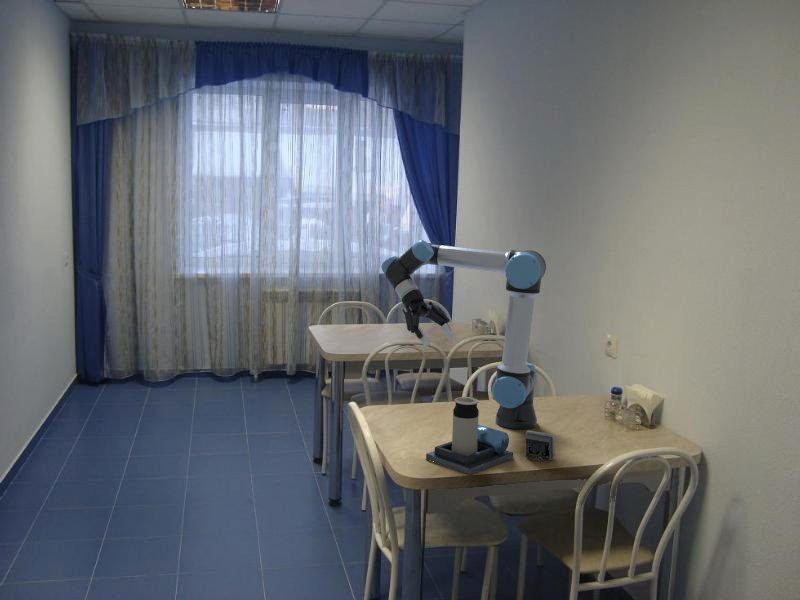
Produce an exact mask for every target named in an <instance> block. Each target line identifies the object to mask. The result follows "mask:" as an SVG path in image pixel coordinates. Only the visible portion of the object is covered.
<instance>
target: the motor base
mask: <svg viewBox="0 0 800 600" xmlns="http://www.w3.org/2000/svg"><path fill="white" fill-rule="evenodd" d="M509 443H510V436H509V434H508V432H505V431H502V430H499V429H496V428H492V427H488V426H485V425H482V424H479V423H478V439H477V453H474V454H471V455H469V456H465V455H462V454H459V453H456V452H453V451H452V440H451V441H449V442H446V443H442V444H440V445H436V446H434V450H432V451H430V452H427V453H426V454H425V460H426V459H428V460H427V461H429V460H431V461H434V462H436V463H435V464H437V463H439V464H438V465H440V464H441V465H440V466H443V467H446V468H449V469H451V470H454V471H458V472H461V473H463V474H465V475H468V476H472V475H474V474H477V473H479V472H482V471H484V470H487V469H490V468H493V467H495V466H498V465H500V464H503V463H505V462H508V461H510V460H513V459H514V452H513V451H509V450H507V449H508V447H509ZM431 461H430V462H431ZM434 462H433V463H434Z"/></svg>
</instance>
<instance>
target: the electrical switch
mask: <svg viewBox="0 0 800 600" xmlns="http://www.w3.org/2000/svg"><path fill="white" fill-rule="evenodd" d="M555 439H556V438H555V435H554V433H553V434H552V433H547V432H540V431H534V430H529V429H527V430H526V432H525V455H526V456H525V457H526V459H528V458H530V459H529V460H533V459H535V460H534V461H539V460H540V462H546V463H550V462H551V461H552V460H551V459H553V460H555V457H556V453H555V452H556V451H555V449H556V447H555V445H556V443H555ZM540 457H541V458H540Z"/></svg>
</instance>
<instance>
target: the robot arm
mask: <svg viewBox="0 0 800 600" xmlns="http://www.w3.org/2000/svg"><path fill="white" fill-rule="evenodd" d="M546 263H547V262H546V259H545V258H544V257H543V255H542V254H540V253H539V252H538V251H535V250H530V249H529V250H514V249H511V250H509V251H497V250H490V249H480V248H469V247H460V246H454V245H453V246H451V245H441V244H435V243H432V242H427V241H426V240H424V239H419V240H417V242H415V243H414V244H412V246H411V247H409V248H408V249H407V250H406V251H405V252H404V253H403V254H401V255H400V256H399V257H398V256H396V255H392V256H390V257H388V258H386V259H385V260H384V261H383V262H382V264H381V271H382V272H383V275H384V277H385V278H386V279H387V281H388V282H389V284H390V285H391V286H392V288H393V290H394V291H395V293H396V294H397V296H398V298H399V299H400V300H401V303H402V304H403V306H404V307H403V308H402V312H403V314H404V319H405V323H406V328H407V331H408V332H410V333H411V334H415V336H416V337H417V339H418V340H419V341H420V342H421V344H422V346H423V347H424V348H427V347H428V346H429V345H430V344H431V341H430V339H429V338H428V336H427V335H426V333H425V332H424V330H423V329H422V327H420V318H421V317H425V318H427V319H430V320H431V321H433V322H434V323H436V325H439V326H440V329H441V330H442V332H443V335H445V337H446V338H447V340H448V342H449V343H453V341H454V340H455V339H456V336H455V334H454V332H453V331H452V329H451V327H450V325H449V324H448V323H449V322H450V318H448V316H446V315H445V314H444V313H443V312H442V311H440V310H439V309H438V308H437V307H436V306H435V305H434V304H433V302H432V301H429V302H428V303H425V300H424V299H425V297H424V295H423V293H422V292H421V289H419V287H418V286H417V284H416V282H415V281H414V279H413V278H412V277H411V275H412V274H414V273H415V272H417V270H419V269H420V268H421V267H423V266H426V265H432V266H433V265H434V266H445V267H450V268H460V269H469V270H475V271H485V272H491V273H499V274H500V273H501V274H505V278H506V282H505V283H506V284H505V290H506V292H507V294H508V295H509V296H508V304H507V305H508V306H507V314H506V315H507V316H506V324H505V333H504V339H503V340H504V342H503V350H502V358H501V360H502V361H501V362H500V363H499V364H497V367H496V374H495V381H494V382H493V385H492V390H491V394H492V397H493V399H494V401H496V403H497V404H498V405H499V407H498V410H497V413H496V415H495V423H496V425H498V426H500V427H502V428H507V429H513V430H529V428H530V429H533V427H534V428H536V427H537V423H538V417H537V415H536V409H535V406H534V394H535V393H534V392H535V380H536V377H535V376H536V366H535V365H534V363H530V362H528V356H529V349H530V341H531V331H532V330H531V329H532V323H533V322H532V321H533V313H534V304H535V298H536V297H537V296H538V295H540V292H541V285H542V278H543V277H544V276H545V273H546V270H547V264H546ZM535 426H536V427H535Z"/></svg>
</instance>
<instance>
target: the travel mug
mask: <svg viewBox="0 0 800 600" xmlns="http://www.w3.org/2000/svg"><path fill="white" fill-rule="evenodd" d="M454 403H455V406H454V408H453V410H452V411H453V413H452V435H451V436H452V437H451V441H452V451H453V452H456V453H459V454H462V455H465V456H469V455H471V454H474V453H477V439H478V424H479V418H480V417H479V415H480V413H479V412H480V410H479V408H478V403H479V400H478V399H477V398H474V397H471V396H470V397H468V396H460V397H455V399H454Z"/></svg>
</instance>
